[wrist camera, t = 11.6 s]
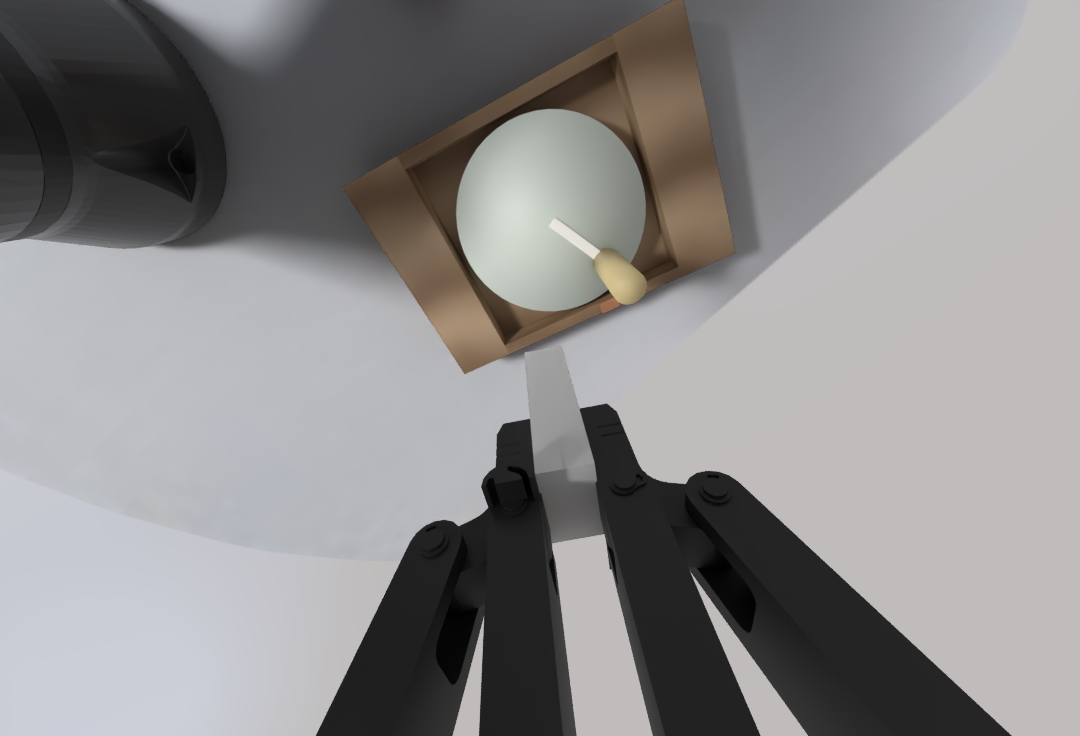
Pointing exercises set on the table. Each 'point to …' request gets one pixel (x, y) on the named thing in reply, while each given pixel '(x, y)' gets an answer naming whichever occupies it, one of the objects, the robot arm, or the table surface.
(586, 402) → the table surface
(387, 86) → the table surface
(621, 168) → the dial
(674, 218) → the wooden tray
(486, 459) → the table surface
